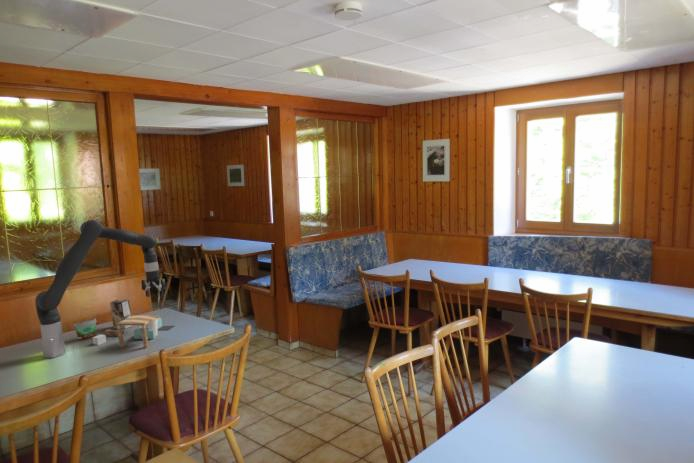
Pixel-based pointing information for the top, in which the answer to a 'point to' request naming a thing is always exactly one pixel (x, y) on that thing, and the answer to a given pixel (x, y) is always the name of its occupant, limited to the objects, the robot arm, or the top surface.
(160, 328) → the dark grey flat slab
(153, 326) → the dixie cup
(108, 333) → the walnut stick
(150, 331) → the crook
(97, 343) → the grey block
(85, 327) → the food container
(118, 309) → the coffee box
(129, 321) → the light wood legged piece
